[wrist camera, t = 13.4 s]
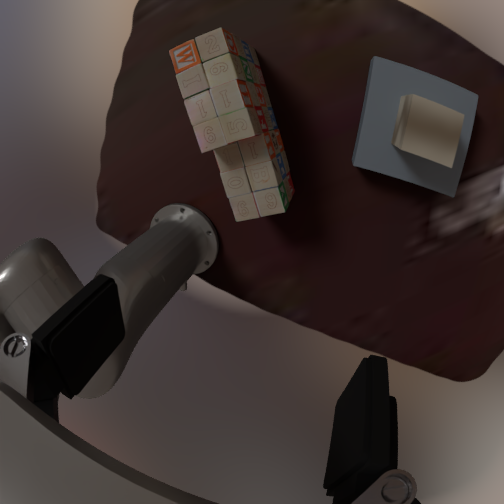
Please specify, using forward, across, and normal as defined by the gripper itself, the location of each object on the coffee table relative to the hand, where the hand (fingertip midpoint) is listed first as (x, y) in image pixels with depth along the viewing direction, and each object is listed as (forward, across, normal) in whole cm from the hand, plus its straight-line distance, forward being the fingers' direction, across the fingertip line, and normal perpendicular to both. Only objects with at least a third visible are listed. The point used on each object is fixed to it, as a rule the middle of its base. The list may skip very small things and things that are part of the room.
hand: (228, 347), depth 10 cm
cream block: (+29, -12, -9) cm, 33 cm away
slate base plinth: (+33, -12, -9) cm, 37 cm away
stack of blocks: (+34, +9, -4) cm, 35 cm away
